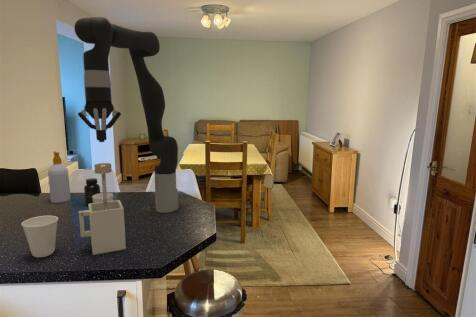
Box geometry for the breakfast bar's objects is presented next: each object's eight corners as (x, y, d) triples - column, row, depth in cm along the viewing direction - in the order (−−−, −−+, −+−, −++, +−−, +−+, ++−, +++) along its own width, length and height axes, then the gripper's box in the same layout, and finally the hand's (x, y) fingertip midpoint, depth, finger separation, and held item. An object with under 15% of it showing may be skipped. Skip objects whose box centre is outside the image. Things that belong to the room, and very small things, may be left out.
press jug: (121, 237, 116) (119, 199, 114) (125, 248, 107) (123, 208, 105) (81, 244, 110) (78, 204, 108) (82, 257, 102) (78, 214, 99)
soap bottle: (67, 196, 165) (63, 150, 161) (73, 200, 158) (68, 152, 154) (48, 199, 159) (43, 151, 155) (53, 204, 152) (48, 154, 148)
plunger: (117, 214, 113) (114, 161, 110) (120, 221, 106) (116, 165, 103) (93, 217, 110) (89, 163, 106) (94, 225, 103) (90, 167, 100)
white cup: (107, 222, 130) (105, 198, 128) (89, 221, 132) (87, 197, 130) (118, 216, 138) (116, 193, 136) (101, 214, 139) (100, 192, 137)
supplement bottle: (104, 203, 155) (102, 178, 152) (91, 207, 149) (89, 181, 147) (95, 201, 158) (93, 177, 156) (82, 204, 152) (80, 179, 150)
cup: (35, 247, 108) (32, 215, 106) (66, 246, 109) (63, 214, 107) (18, 261, 98) (14, 227, 97) (52, 260, 99) (49, 226, 97)
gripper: (118, 87, 107) (121, 139, 110) (73, 86, 101) (78, 141, 104) (122, 86, 100) (125, 142, 103) (74, 85, 94) (78, 144, 97)
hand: (101, 141), depth 103 cm, fingers closed
